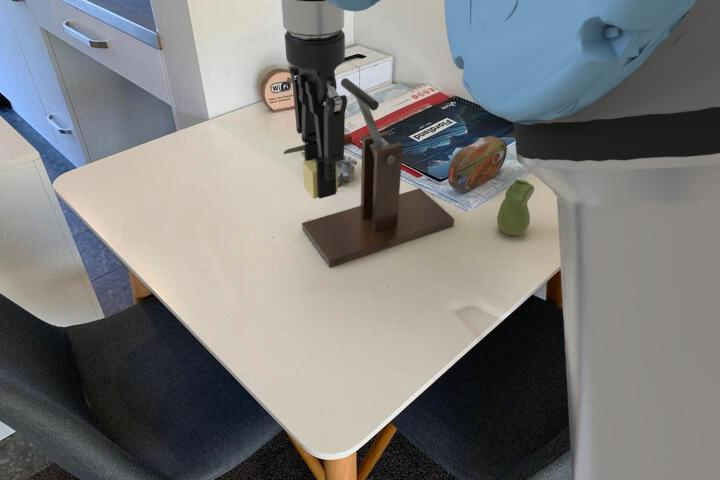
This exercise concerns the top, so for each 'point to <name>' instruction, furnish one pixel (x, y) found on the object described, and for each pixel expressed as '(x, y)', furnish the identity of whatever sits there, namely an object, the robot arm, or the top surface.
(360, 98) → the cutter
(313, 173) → the butter
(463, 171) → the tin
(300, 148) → the kitchen knife
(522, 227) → the pear
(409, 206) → the lever base
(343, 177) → the egg carton
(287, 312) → the top surface
